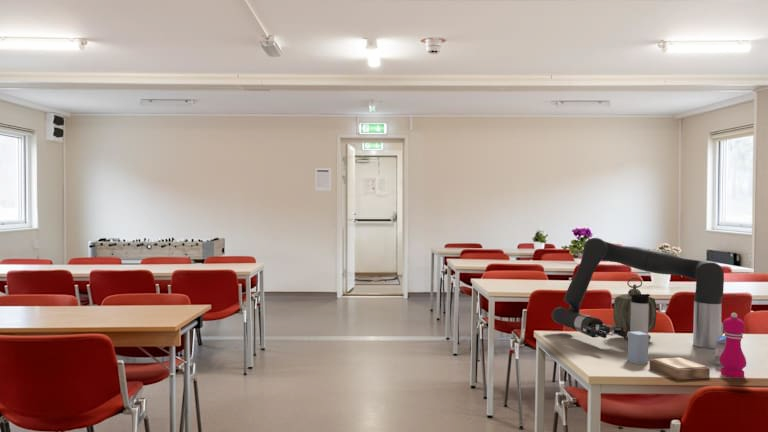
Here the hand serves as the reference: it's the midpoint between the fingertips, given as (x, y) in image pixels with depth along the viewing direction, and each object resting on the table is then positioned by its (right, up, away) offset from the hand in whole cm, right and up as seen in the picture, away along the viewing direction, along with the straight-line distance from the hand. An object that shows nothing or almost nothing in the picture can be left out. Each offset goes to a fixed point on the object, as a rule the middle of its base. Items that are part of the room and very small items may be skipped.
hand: (616, 335), depth 199 cm
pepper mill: (+27, -8, -24) cm, 37 cm away
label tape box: (+33, -8, -10) cm, 35 cm away
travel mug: (+15, -7, +14) cm, 22 cm away
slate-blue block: (+3, -7, -11) cm, 13 cm away
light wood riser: (+10, -7, -23) cm, 26 cm away
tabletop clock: (+18, -7, +26) cm, 33 cm away
